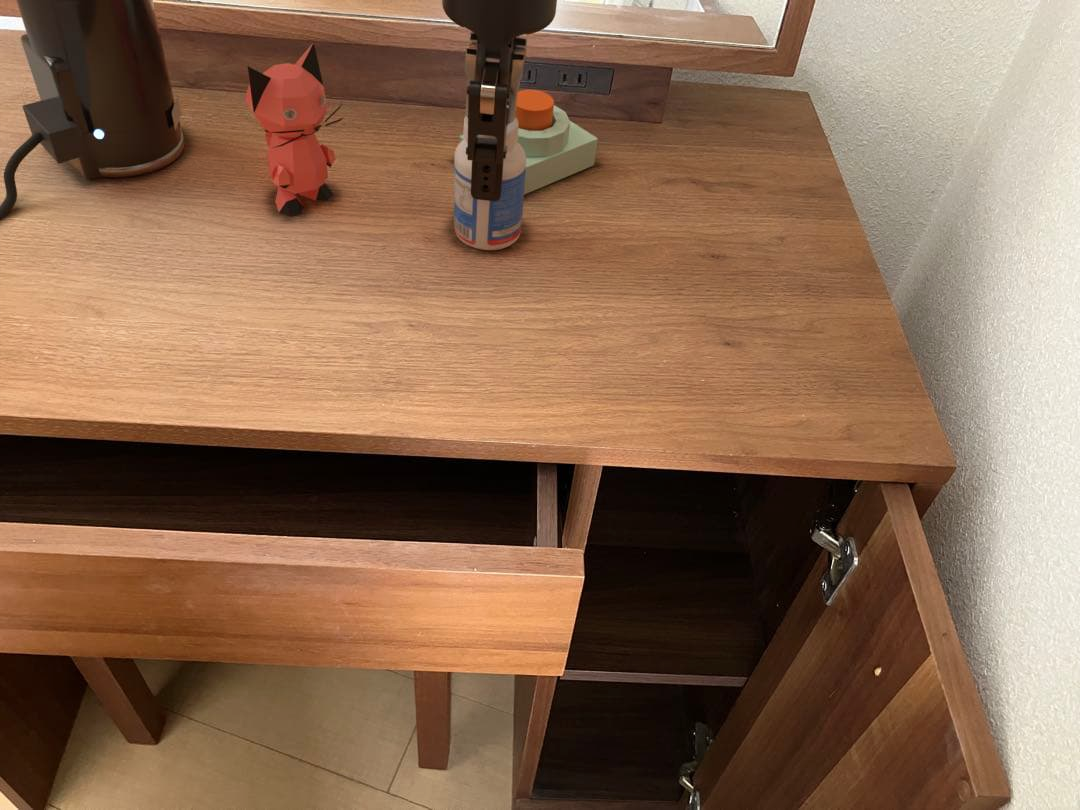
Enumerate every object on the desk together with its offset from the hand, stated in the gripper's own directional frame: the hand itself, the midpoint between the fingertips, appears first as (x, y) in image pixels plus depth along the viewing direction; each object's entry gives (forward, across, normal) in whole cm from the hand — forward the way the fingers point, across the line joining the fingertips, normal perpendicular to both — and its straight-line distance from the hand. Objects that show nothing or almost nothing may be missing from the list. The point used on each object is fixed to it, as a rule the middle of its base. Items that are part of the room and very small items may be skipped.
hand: (490, 173), depth 68 cm
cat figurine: (+6, -2, -16) cm, 17 cm away
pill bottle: (+6, 0, 0) cm, 6 cm away
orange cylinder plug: (+1, -11, +3) cm, 11 cm away
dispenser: (+5, -11, +3) cm, 12 cm away
